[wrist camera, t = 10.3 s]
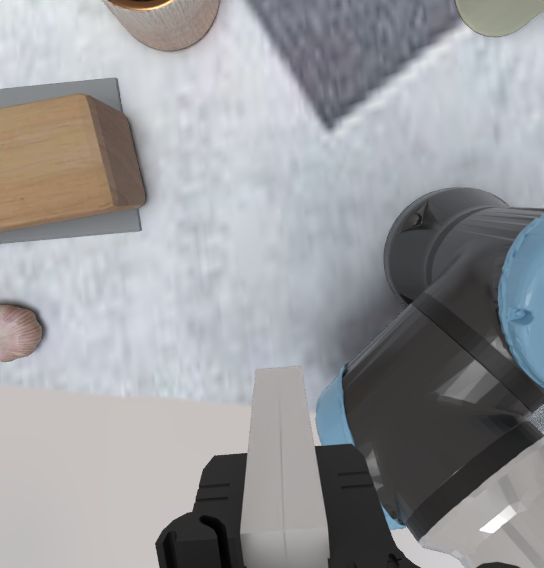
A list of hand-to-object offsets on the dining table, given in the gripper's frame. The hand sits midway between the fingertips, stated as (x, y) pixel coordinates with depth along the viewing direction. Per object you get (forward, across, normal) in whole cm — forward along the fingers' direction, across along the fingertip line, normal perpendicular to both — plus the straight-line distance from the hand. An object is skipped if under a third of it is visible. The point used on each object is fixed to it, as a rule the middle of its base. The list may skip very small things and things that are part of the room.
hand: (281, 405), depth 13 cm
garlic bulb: (+35, +32, +6) cm, 48 cm away
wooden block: (+29, +14, -12) cm, 34 cm away
